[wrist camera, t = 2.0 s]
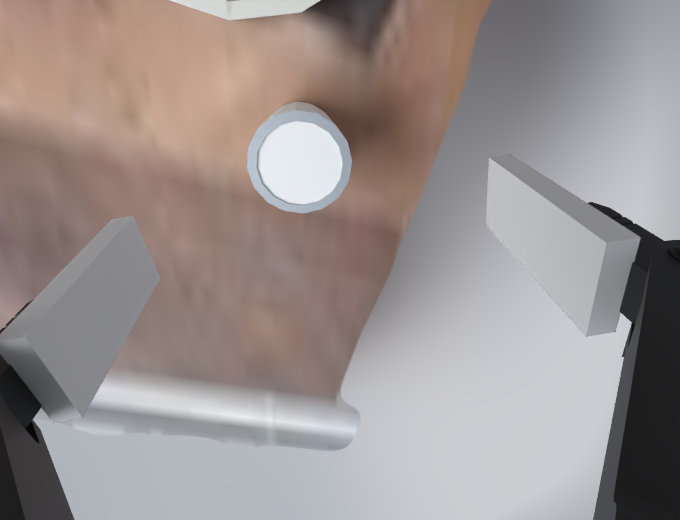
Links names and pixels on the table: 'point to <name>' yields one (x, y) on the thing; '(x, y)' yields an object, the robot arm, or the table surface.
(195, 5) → the ring tray
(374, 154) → the table surface
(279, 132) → the shot glass
